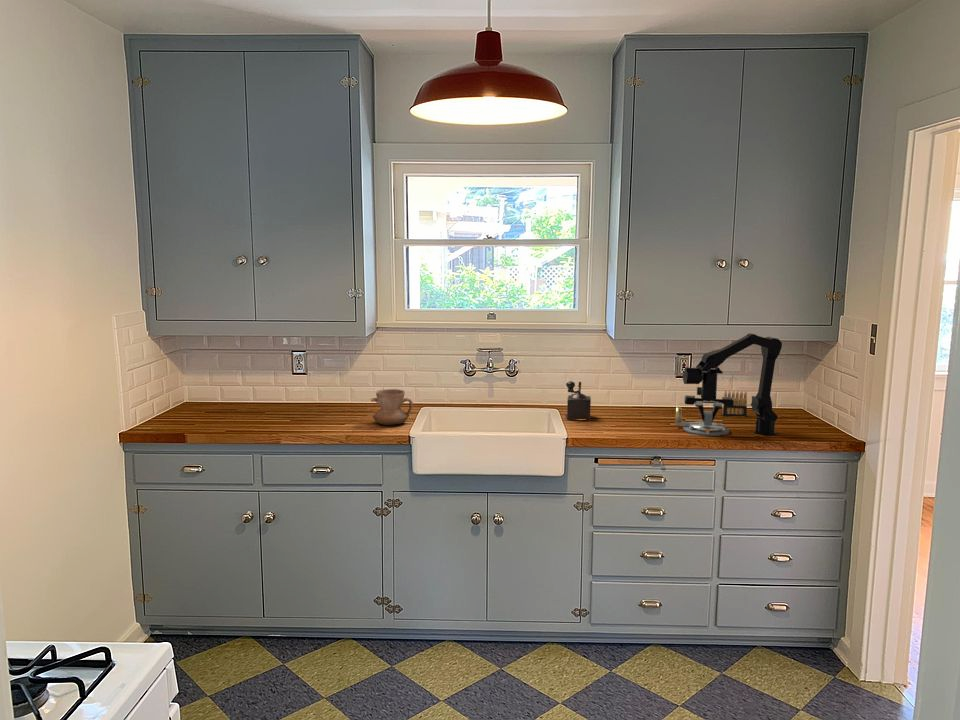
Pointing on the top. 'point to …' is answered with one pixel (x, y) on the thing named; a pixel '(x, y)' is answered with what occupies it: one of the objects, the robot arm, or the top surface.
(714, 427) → the grey crank mechanism
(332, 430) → the top surface
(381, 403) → the ceramic jug
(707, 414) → the link block
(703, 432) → the index plate
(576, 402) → the pepper mill
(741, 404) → the ammunition clip
